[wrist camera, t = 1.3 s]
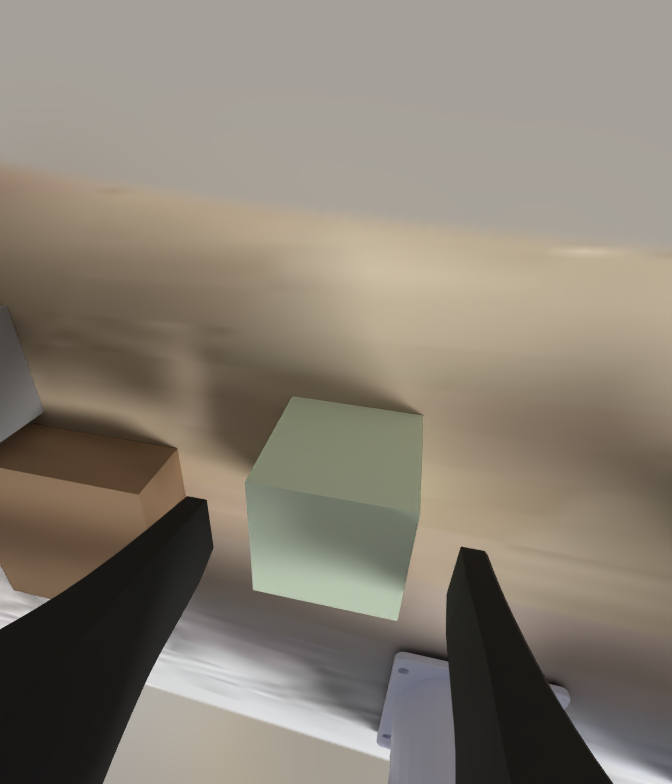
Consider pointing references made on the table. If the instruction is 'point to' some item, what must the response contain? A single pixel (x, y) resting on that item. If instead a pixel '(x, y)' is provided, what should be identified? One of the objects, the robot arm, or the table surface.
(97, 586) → the robot arm
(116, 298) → the table surface
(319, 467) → the sage block
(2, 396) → the grey block
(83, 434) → the walnut block
